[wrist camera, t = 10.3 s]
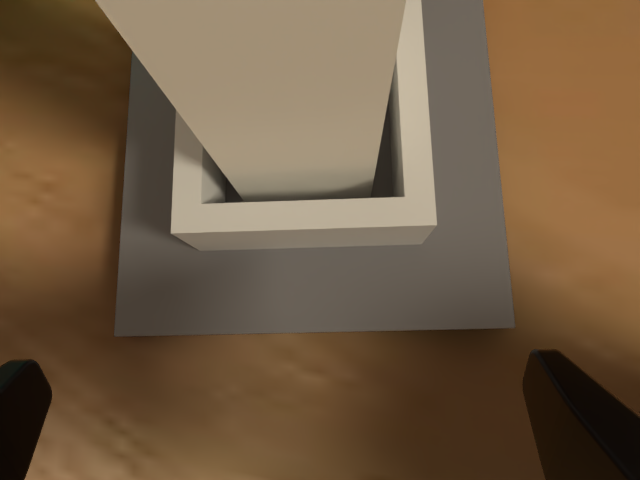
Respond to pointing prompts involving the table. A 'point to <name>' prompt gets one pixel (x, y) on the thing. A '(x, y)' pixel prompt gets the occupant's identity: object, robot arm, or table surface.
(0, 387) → the robot arm
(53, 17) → the table surface
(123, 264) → the socket
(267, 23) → the plug
